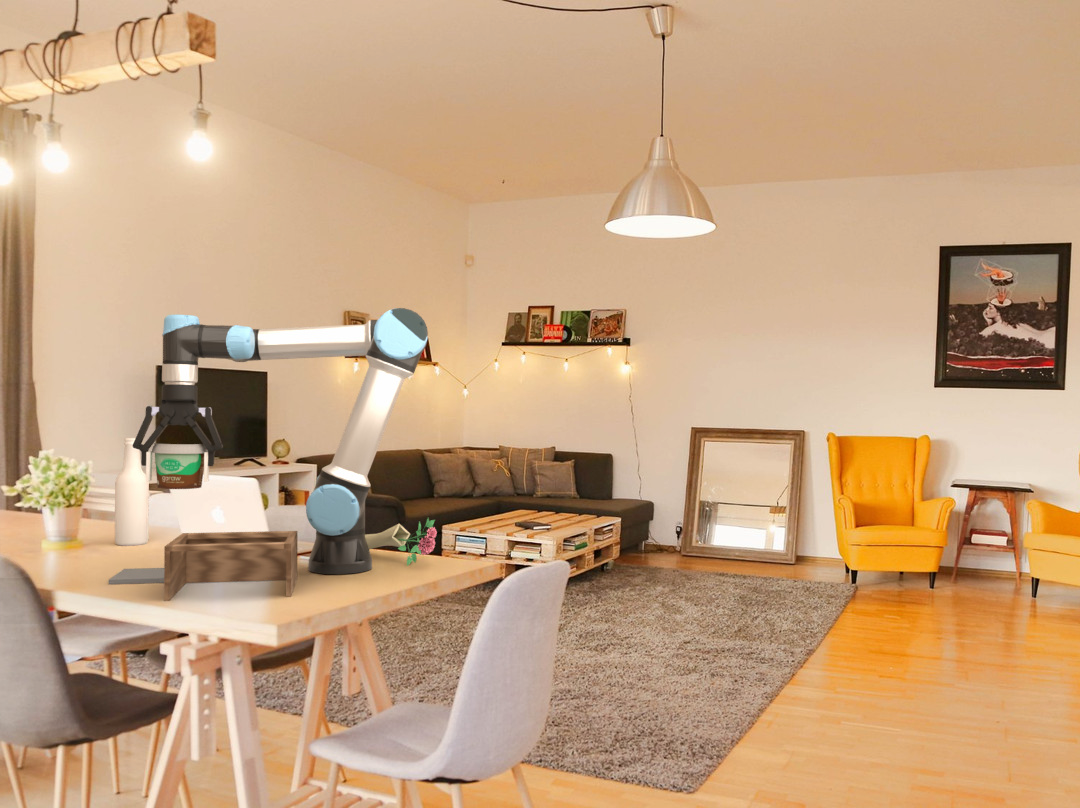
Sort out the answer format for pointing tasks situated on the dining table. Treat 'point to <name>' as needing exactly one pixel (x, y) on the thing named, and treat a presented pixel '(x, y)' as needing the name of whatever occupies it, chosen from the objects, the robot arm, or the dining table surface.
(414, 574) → the dining table surface
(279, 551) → the access cubby
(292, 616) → the dining table surface
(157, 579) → the mat
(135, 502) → the alcohol
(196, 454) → the food container
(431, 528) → the flower vase
